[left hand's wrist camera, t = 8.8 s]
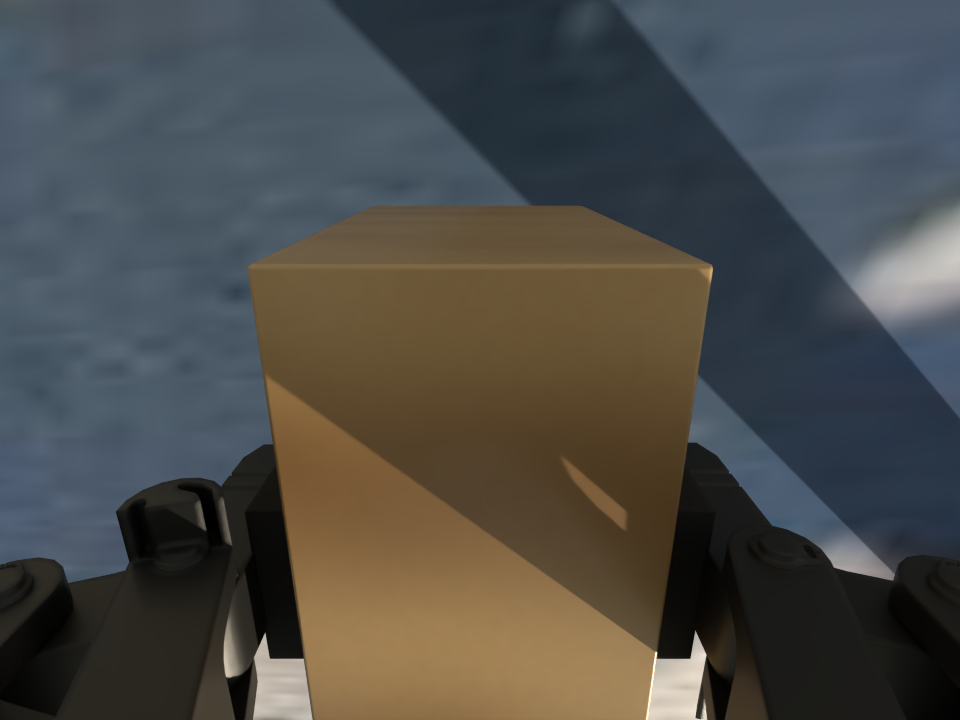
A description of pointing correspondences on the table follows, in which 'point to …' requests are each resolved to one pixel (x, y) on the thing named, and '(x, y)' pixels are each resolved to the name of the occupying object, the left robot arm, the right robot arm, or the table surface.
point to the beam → (480, 456)
